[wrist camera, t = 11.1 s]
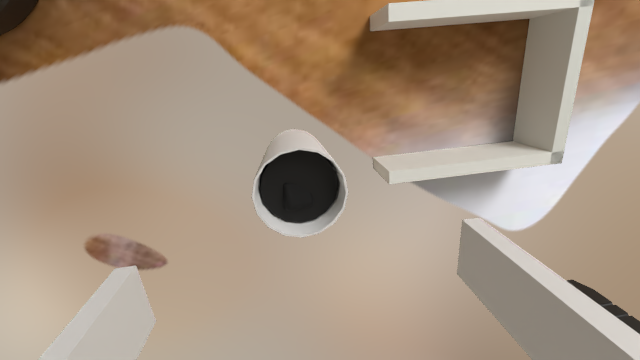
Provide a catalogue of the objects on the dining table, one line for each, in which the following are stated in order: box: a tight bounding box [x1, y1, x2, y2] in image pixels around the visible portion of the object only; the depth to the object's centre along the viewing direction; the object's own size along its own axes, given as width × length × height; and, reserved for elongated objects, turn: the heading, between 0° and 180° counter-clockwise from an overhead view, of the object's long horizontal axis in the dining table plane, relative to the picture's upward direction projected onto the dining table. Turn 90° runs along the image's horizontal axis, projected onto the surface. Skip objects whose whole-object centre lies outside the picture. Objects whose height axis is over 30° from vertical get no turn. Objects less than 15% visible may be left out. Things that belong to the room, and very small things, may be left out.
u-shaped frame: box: [370, 0, 594, 184], centre depth 27 cm, size 14×17×5 cm
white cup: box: [252, 129, 348, 237], centre depth 25 cm, size 7×7×10 cm
